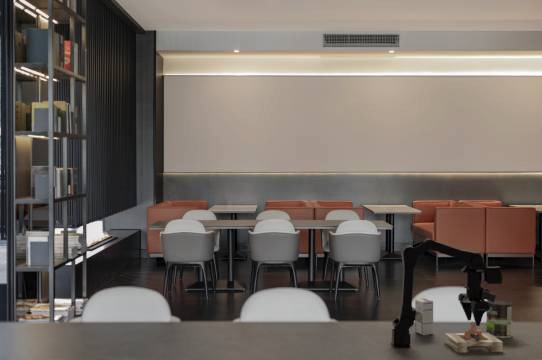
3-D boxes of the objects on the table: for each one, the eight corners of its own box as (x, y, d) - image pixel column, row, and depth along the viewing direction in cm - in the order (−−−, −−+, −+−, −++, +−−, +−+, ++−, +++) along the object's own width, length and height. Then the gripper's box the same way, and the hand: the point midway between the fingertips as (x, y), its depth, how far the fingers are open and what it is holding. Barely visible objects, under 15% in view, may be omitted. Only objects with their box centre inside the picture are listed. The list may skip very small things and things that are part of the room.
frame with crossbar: (456, 352, 251) (456, 338, 251) (444, 342, 265) (444, 329, 265) (502, 352, 252) (502, 337, 252) (488, 342, 266) (488, 328, 266)
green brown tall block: (497, 339, 271) (497, 305, 270) (480, 333, 280) (481, 300, 280) (517, 337, 274) (517, 303, 274) (500, 331, 284) (500, 298, 284)
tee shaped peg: (467, 342, 257) (467, 323, 256) (464, 340, 260) (464, 322, 259) (482, 341, 257) (482, 323, 257) (479, 339, 260) (479, 321, 260)
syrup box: (433, 334, 278) (434, 300, 278) (422, 335, 276) (422, 301, 275) (426, 331, 283) (426, 297, 283) (414, 332, 281) (414, 298, 281)
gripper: (503, 287, 249) (503, 328, 249) (484, 279, 268) (484, 317, 268) (475, 288, 248) (474, 329, 249) (457, 279, 267) (457, 317, 267)
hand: (473, 323), depth 258 cm, fingers open, 9 cm apart
